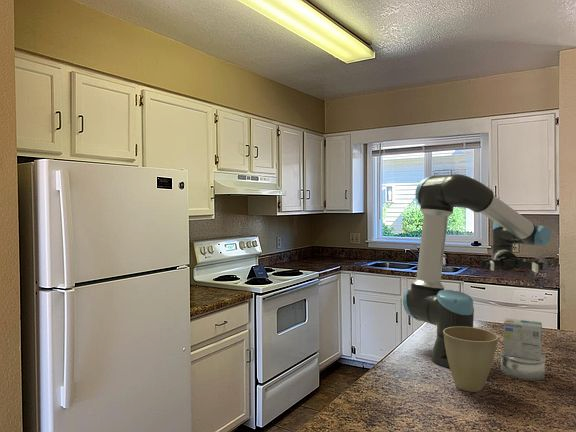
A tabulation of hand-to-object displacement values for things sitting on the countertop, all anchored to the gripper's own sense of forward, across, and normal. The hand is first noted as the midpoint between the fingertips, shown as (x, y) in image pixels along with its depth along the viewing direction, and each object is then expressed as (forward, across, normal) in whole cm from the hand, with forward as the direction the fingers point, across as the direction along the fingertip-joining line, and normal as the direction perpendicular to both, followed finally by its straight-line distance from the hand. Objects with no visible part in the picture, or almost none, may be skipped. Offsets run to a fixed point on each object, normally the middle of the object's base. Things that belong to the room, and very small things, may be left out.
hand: (514, 267), depth 153 cm
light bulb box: (+12, -1, -26) cm, 29 cm away
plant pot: (+29, +16, -32) cm, 46 cm away
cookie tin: (+12, -1, -32) cm, 34 cm away
